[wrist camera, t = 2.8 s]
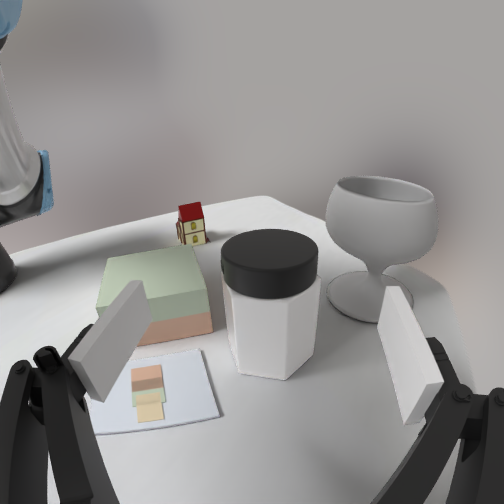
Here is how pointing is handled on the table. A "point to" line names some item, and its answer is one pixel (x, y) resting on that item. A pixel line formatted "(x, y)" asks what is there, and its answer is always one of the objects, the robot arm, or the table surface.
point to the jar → (270, 300)
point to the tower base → (162, 291)
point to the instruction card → (156, 395)
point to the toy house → (191, 224)
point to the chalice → (377, 237)
